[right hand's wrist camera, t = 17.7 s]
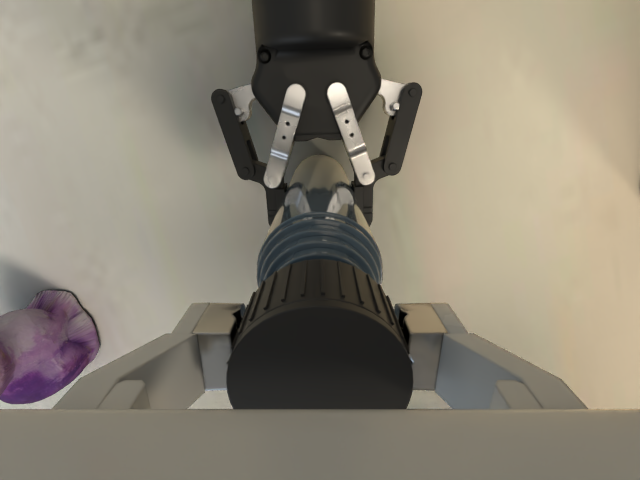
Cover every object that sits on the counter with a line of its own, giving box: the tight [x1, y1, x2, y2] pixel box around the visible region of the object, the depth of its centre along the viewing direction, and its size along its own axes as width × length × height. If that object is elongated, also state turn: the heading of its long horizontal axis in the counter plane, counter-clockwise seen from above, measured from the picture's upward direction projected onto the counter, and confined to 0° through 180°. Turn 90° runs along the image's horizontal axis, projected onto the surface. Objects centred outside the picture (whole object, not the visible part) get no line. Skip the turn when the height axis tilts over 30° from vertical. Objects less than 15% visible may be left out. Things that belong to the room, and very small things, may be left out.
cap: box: [226, 259, 413, 409], centre depth 9 cm, size 4×4×2 cm
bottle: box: [257, 155, 383, 288], centre depth 20 cm, size 5×5×25 cm
